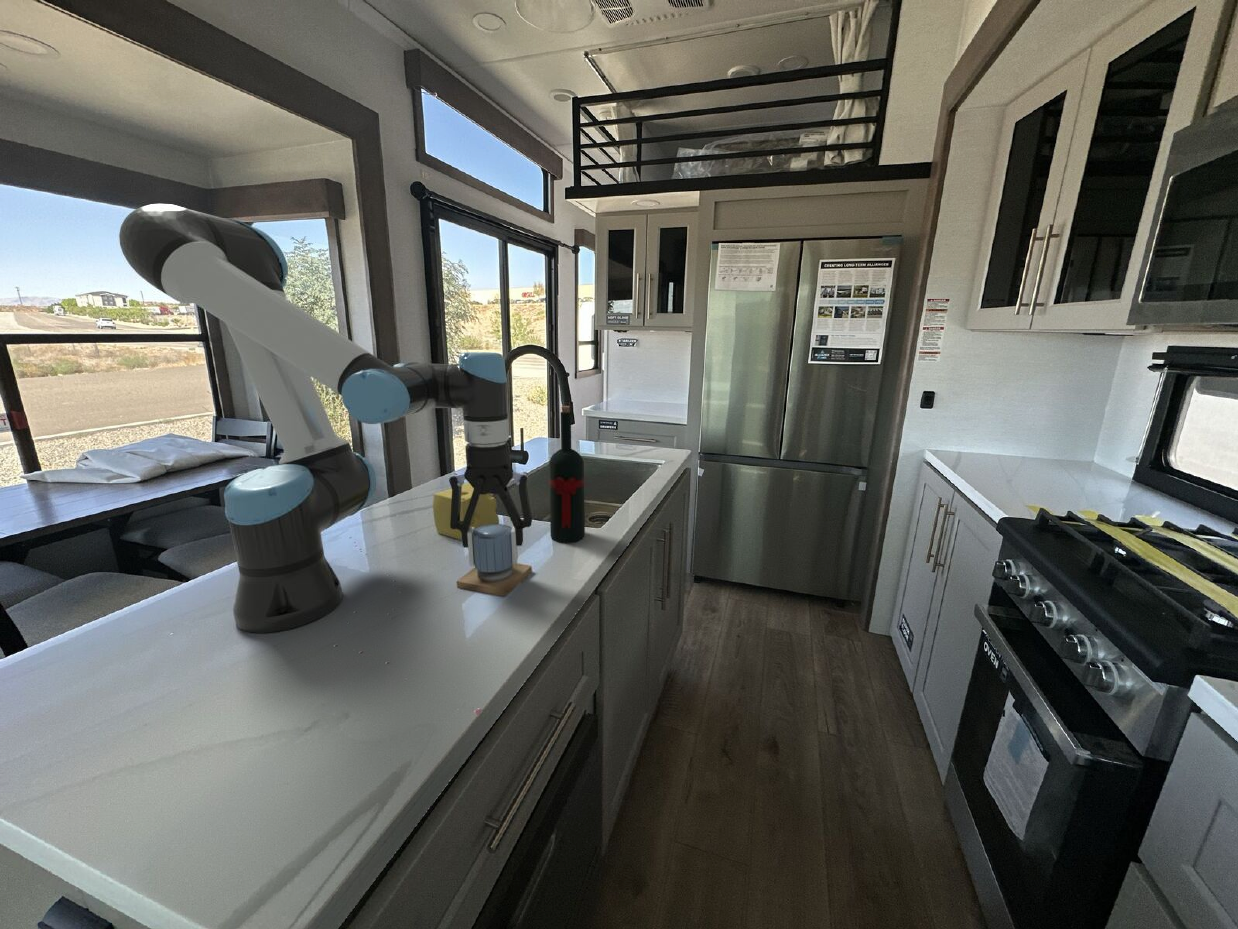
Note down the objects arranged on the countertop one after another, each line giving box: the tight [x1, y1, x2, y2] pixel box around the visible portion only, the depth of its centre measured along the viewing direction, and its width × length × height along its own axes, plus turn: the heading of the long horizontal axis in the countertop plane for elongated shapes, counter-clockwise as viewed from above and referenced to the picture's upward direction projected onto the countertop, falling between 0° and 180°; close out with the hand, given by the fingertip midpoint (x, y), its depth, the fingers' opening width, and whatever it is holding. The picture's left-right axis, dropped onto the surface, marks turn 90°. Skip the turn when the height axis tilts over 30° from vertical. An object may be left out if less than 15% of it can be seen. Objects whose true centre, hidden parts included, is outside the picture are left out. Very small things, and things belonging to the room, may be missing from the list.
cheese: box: [432, 481, 500, 542], centre depth 114 cm, size 10×11×10 cm
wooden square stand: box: [456, 562, 533, 597], centre depth 92 cm, size 10×10×7 cm
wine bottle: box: [548, 405, 586, 544], centre depth 107 cm, size 8×10×30 cm
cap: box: [472, 523, 513, 572], centre depth 91 cm, size 7×7×6 cm
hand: (494, 561), depth 92 cm, fingers closed on cap, 7 cm apart
